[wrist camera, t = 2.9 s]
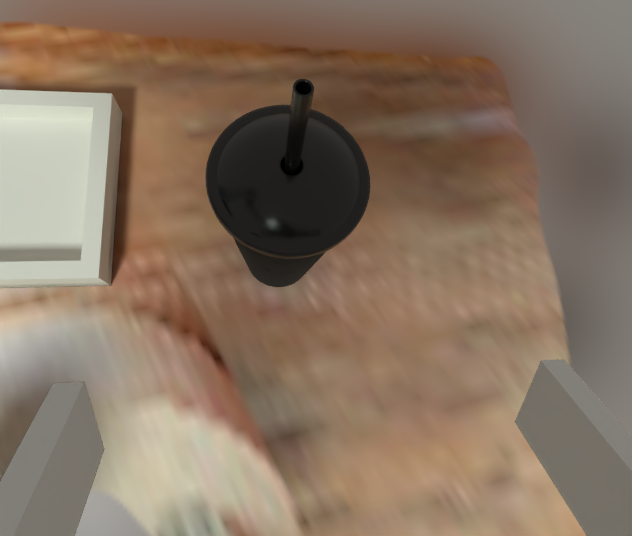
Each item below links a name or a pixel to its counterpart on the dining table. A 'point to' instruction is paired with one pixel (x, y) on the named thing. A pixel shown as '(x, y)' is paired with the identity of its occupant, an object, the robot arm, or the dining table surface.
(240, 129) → the drinking cup
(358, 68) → the dining table surface
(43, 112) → the tray
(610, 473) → the robot arm
